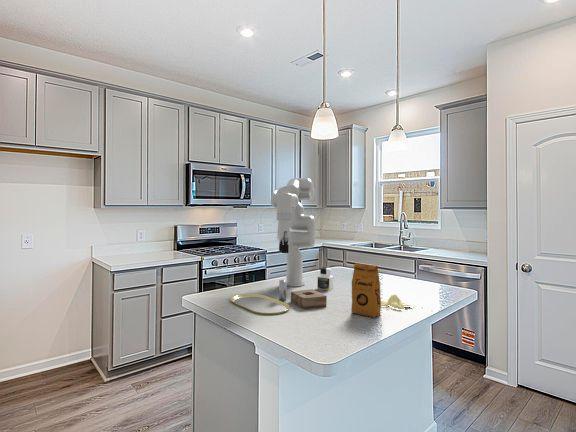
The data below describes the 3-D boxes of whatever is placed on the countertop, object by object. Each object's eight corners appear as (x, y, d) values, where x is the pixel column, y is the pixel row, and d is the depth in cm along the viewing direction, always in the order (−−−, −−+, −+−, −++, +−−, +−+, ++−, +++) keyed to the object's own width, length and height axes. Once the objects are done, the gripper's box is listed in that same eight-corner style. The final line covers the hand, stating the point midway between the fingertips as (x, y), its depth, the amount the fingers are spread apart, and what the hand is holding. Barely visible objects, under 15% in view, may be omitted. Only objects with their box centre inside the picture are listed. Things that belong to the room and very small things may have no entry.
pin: (278, 300, 174) (278, 280, 173) (284, 299, 175) (284, 279, 175) (280, 301, 170) (281, 281, 170) (287, 301, 172) (287, 281, 172)
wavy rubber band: (264, 319, 146) (264, 315, 146) (224, 300, 173) (224, 297, 173) (298, 311, 157) (298, 307, 157) (255, 295, 185) (255, 292, 185)
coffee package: (374, 320, 145) (375, 267, 144) (348, 314, 152) (348, 264, 152) (384, 314, 152) (385, 264, 152) (358, 308, 160) (359, 261, 160)
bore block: (290, 301, 171) (290, 291, 171) (312, 298, 176) (312, 289, 176) (303, 309, 159) (303, 298, 158) (326, 306, 164) (326, 295, 164)
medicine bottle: (317, 289, 198) (317, 268, 198) (321, 286, 204) (322, 266, 204) (329, 290, 195) (329, 269, 194) (333, 288, 201) (333, 267, 200)
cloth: (363, 305, 167) (364, 293, 167) (387, 299, 179) (387, 287, 179) (404, 317, 150) (404, 303, 150) (427, 310, 161) (427, 297, 161)
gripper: (274, 217, 180) (273, 250, 180) (279, 217, 163) (278, 253, 163) (288, 217, 182) (288, 250, 181) (294, 217, 165) (294, 253, 164)
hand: (283, 252), depth 172 cm, fingers open, 9 cm apart
